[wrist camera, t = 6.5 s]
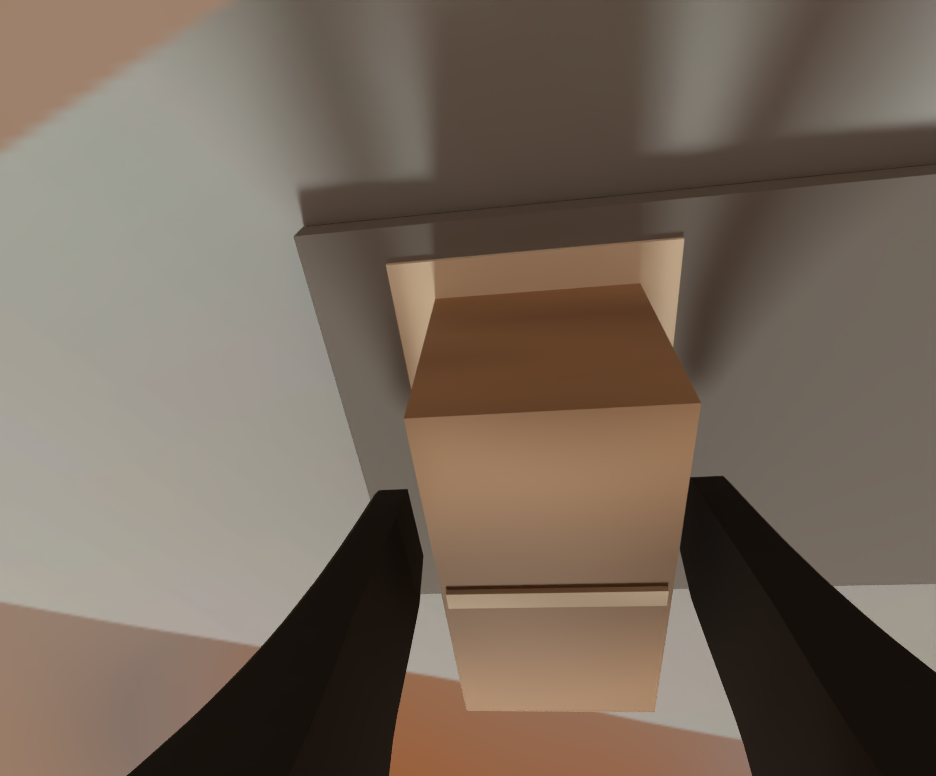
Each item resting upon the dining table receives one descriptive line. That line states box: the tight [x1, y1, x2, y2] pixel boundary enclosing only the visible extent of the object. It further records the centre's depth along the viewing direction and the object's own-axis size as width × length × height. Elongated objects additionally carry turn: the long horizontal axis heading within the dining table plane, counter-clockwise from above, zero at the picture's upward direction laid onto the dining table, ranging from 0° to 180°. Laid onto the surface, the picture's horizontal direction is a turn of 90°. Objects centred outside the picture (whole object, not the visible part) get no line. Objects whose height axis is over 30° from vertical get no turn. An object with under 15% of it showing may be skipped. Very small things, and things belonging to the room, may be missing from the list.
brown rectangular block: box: [404, 283, 701, 712], centre depth 11 cm, size 8×4×4 cm, turn 6°
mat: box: [294, 164, 936, 594], centre depth 13 cm, size 18×11×1 cm, turn 97°
